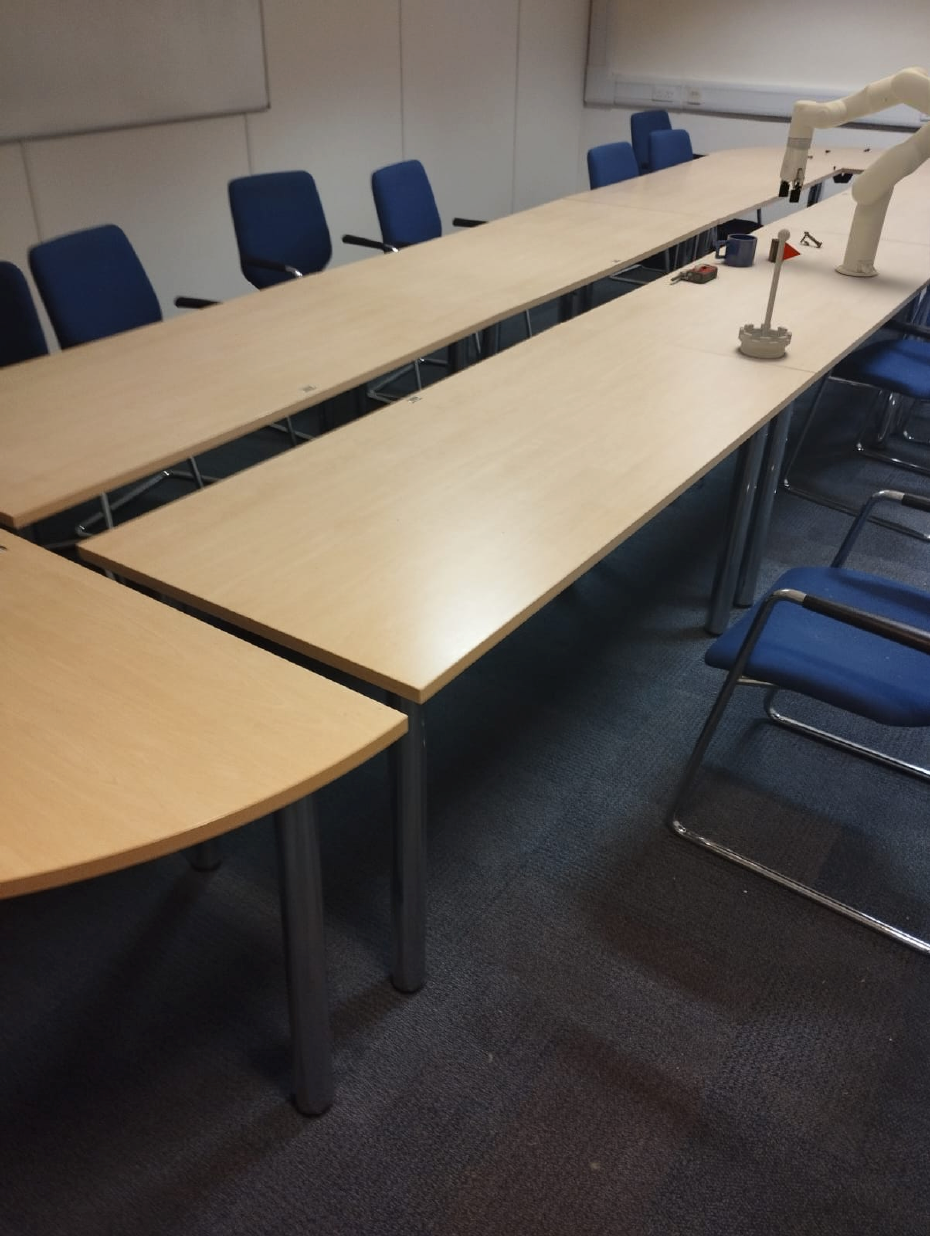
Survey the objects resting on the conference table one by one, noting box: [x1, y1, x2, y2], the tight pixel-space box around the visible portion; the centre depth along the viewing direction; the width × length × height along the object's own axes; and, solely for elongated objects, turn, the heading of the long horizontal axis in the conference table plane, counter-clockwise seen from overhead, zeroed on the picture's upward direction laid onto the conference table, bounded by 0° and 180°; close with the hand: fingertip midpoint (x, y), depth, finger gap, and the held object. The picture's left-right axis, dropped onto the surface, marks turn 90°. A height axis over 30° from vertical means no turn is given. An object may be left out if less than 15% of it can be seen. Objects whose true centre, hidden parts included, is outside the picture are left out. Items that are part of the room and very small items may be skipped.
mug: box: [714, 233, 759, 268], centre depth 328 cm, size 13×10×8 cm
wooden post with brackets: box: [799, 230, 823, 249], centre depth 354 cm, size 2×8×4 cm, turn 45°
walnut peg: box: [767, 238, 780, 263], centre depth 332 cm, size 3×3×7 cm
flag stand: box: [737, 228, 802, 359], centre depth 243 cm, size 13×13×30 cm
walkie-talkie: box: [670, 262, 719, 284], centre depth 309 cm, size 9×4×20 cm
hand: (788, 199), depth 326 cm, fingers open, 9 cm apart
